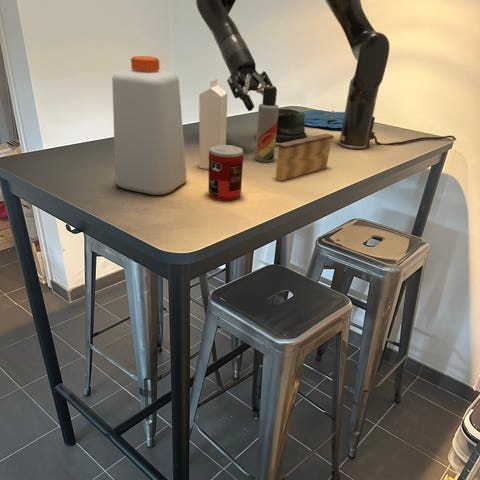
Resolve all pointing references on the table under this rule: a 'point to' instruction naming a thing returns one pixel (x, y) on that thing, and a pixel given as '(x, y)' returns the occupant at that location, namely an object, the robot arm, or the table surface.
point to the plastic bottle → (148, 128)
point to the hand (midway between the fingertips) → (262, 107)
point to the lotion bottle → (267, 126)
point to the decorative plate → (324, 118)
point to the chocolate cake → (290, 126)
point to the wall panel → (302, 156)
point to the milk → (211, 121)
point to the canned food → (225, 172)
